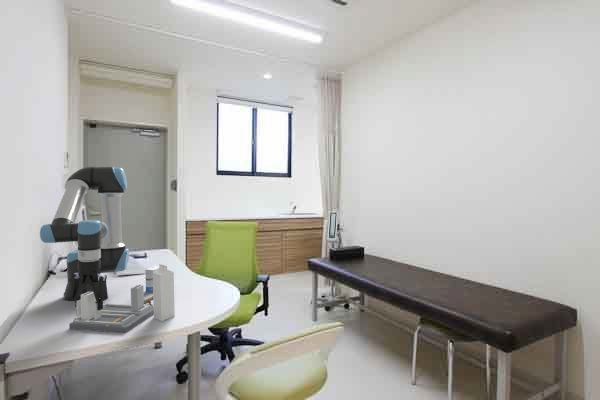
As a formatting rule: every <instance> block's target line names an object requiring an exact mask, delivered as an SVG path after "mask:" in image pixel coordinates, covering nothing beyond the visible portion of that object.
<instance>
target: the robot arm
mask: <svg viewBox="0 0 600 400" xmlns="http://www.w3.org/2000/svg"><path fill="white" fill-rule="evenodd" d="M64 189H65V191H64V192H63V196H61V197H62V198H61V199H60V201H59V202H60V203H59V204H58V207H57V210H56V211H55V215H53V216H54V217H53V219H52V221H51V223H47V224H43V225H42V226H41V227H40V230H39V236H40V237H39V238H40V241H42V242H43V243H46V244H56V243H71V242H72V243H73V242H77V249H76V250H73V251H70V252H68V254H66V274H67V275H66V277H67V281H66V282H67V283H66V285H65V288H64V289H65V290H64V292H63V300H65V301H74V303H75V304H74V306H75V308H76V316H75V318H76V317H78V316H80V315H81V295H82V294H84V293H87V292H91V291H93V293H94V296H95V299H96V302H95V303H94V319H97V318H99V317H101V309H103V304H104V301H106V300H108V299H109V295H108V287H107V279H108V278H107V277H108V276H107V273H117V272H118V273H119V272H124V271H125V270H126V269H127V267H128V263H129V256H130V249H129V248H127V247H126V244H125V243H124V242H123V231H122V230H123V229H122V228H123V227H122V226H123V225H122V196H123V195H124V194H125V191H126V190H127V189H128V180H127V176H126V172H125V170H124V169H123V168H122V167H117V166H116V167H115V166H86V167H82V168H80V169H78V170H76V171H74V173H72V174H71V175H70V176H69V177H68V178H67V180H66V182H65V183H64ZM89 191H97V194H98V195H99V196H100V197H101V198H100V199H101V221H100V220H98V219H84V220H80V221H79V222H76V219H77V218H78V213H79V212H80V209H81V206H82V203H83V200H84V197H85V195H86V194H88V192H89ZM101 241H102V242H101ZM105 273H106V274H105Z"/></svg>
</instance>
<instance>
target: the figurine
mask: <svg viewBox="0 0 600 400" xmlns="http://www.w3.org/2000/svg"><path fill="white" fill-rule="evenodd" d="M152 301H153V295H152V296H150V297H148V298H145V299H144V305H150V306H151V307H152V306H153V304H152Z"/></svg>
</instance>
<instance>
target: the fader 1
mask: <svg viewBox="0 0 600 400" xmlns="http://www.w3.org/2000/svg"><path fill="white" fill-rule="evenodd" d="M95 302H96V299H95V296H94V293H93V291H91V292H87V293H84V294H82V295H81V320H90V319H92V318H94V303H95Z"/></svg>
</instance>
